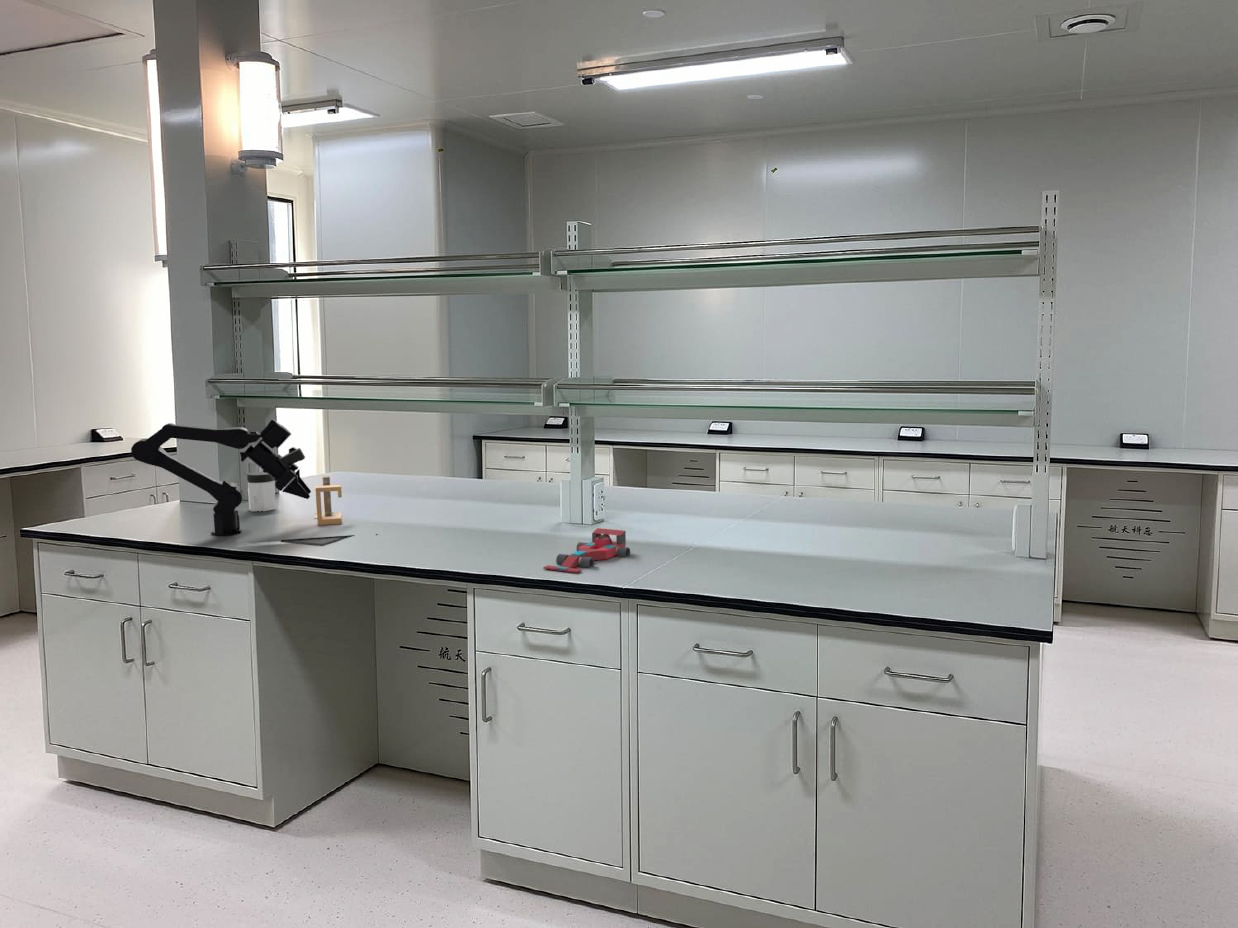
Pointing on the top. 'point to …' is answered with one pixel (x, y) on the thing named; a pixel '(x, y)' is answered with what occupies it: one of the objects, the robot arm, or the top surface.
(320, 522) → the c hook
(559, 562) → the race car
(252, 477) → the jar
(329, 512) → the hook stand
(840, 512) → the top surface
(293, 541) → the rubber mat
